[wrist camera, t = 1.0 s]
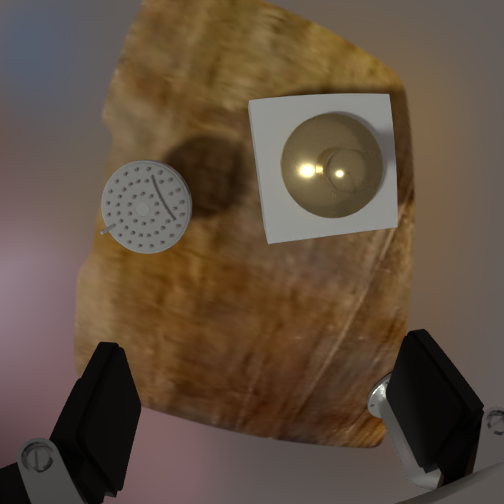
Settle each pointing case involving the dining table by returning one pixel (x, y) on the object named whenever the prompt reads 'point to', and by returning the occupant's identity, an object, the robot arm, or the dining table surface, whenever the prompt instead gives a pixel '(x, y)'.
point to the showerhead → (146, 206)
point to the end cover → (331, 165)
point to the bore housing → (269, 155)
